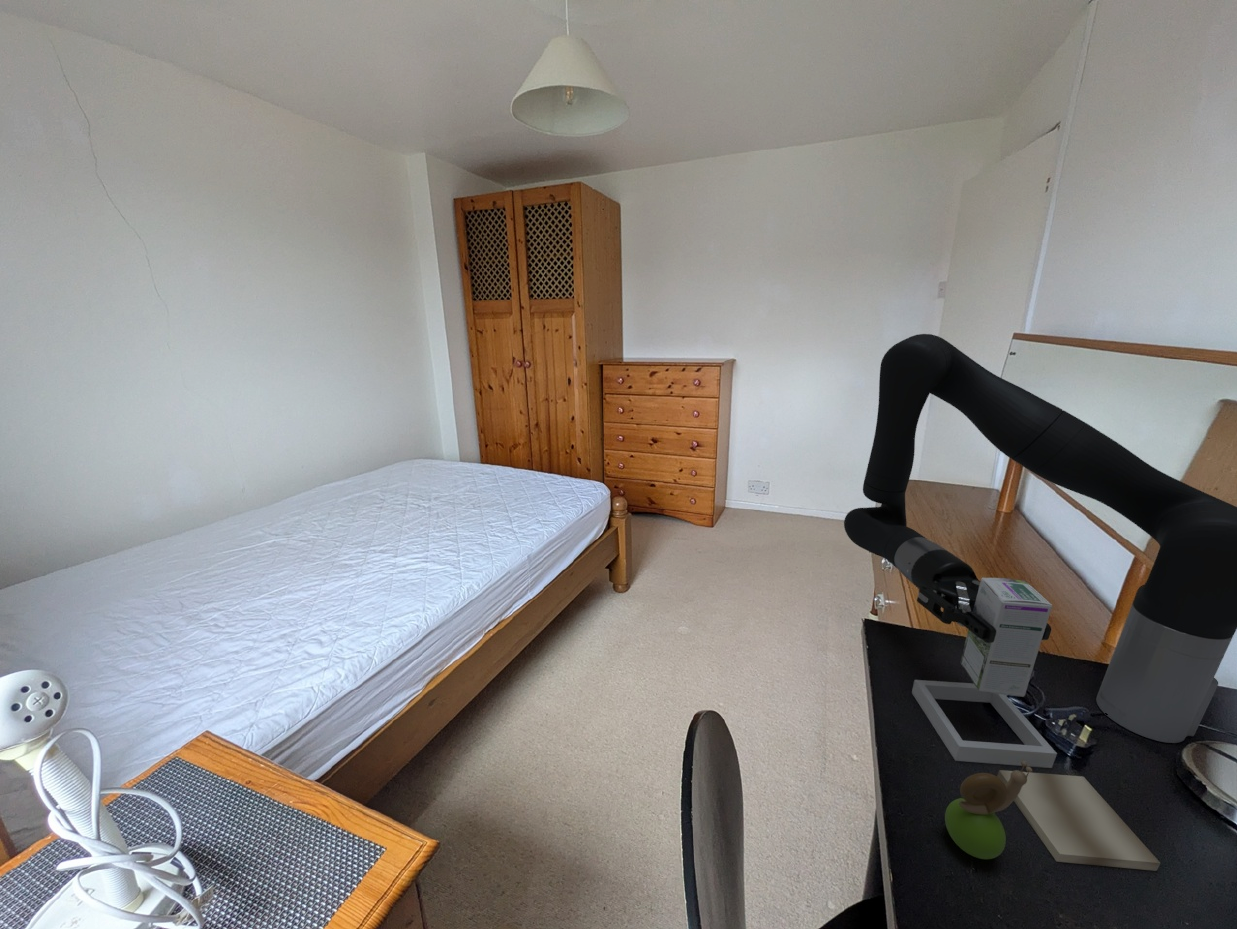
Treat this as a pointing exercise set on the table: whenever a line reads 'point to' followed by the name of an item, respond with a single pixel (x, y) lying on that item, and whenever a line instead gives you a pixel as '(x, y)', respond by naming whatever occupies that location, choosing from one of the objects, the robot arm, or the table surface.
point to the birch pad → (1079, 823)
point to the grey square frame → (983, 752)
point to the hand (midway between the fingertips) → (1020, 635)
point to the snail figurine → (982, 812)
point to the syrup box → (1006, 636)
